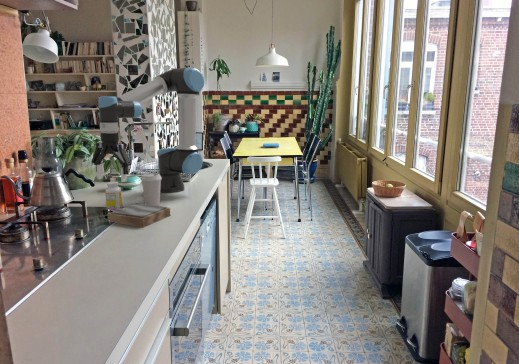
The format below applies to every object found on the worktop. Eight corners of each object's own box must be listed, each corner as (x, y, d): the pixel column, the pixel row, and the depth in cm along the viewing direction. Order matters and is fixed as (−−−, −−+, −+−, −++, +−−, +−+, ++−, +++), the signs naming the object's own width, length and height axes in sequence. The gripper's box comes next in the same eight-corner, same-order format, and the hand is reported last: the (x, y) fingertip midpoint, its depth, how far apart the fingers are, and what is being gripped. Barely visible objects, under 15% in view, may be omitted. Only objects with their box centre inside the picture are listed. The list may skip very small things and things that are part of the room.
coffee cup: (157, 209, 192) (156, 177, 189) (138, 208, 194) (136, 176, 191) (166, 204, 201) (165, 173, 198) (147, 203, 203) (146, 172, 200)
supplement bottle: (118, 207, 195) (116, 180, 192) (125, 210, 190) (123, 182, 187) (104, 210, 190) (102, 182, 187) (110, 213, 185) (108, 184, 183)
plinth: (136, 211, 189) (136, 202, 188) (170, 215, 182) (170, 206, 181) (108, 221, 173) (107, 212, 172) (143, 227, 166) (143, 217, 165)
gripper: (81, 131, 184) (84, 179, 188) (126, 134, 175) (128, 184, 179) (93, 130, 191) (96, 176, 195) (138, 133, 182) (140, 181, 186)
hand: (112, 180), depth 187 cm, fingers open, 13 cm apart
